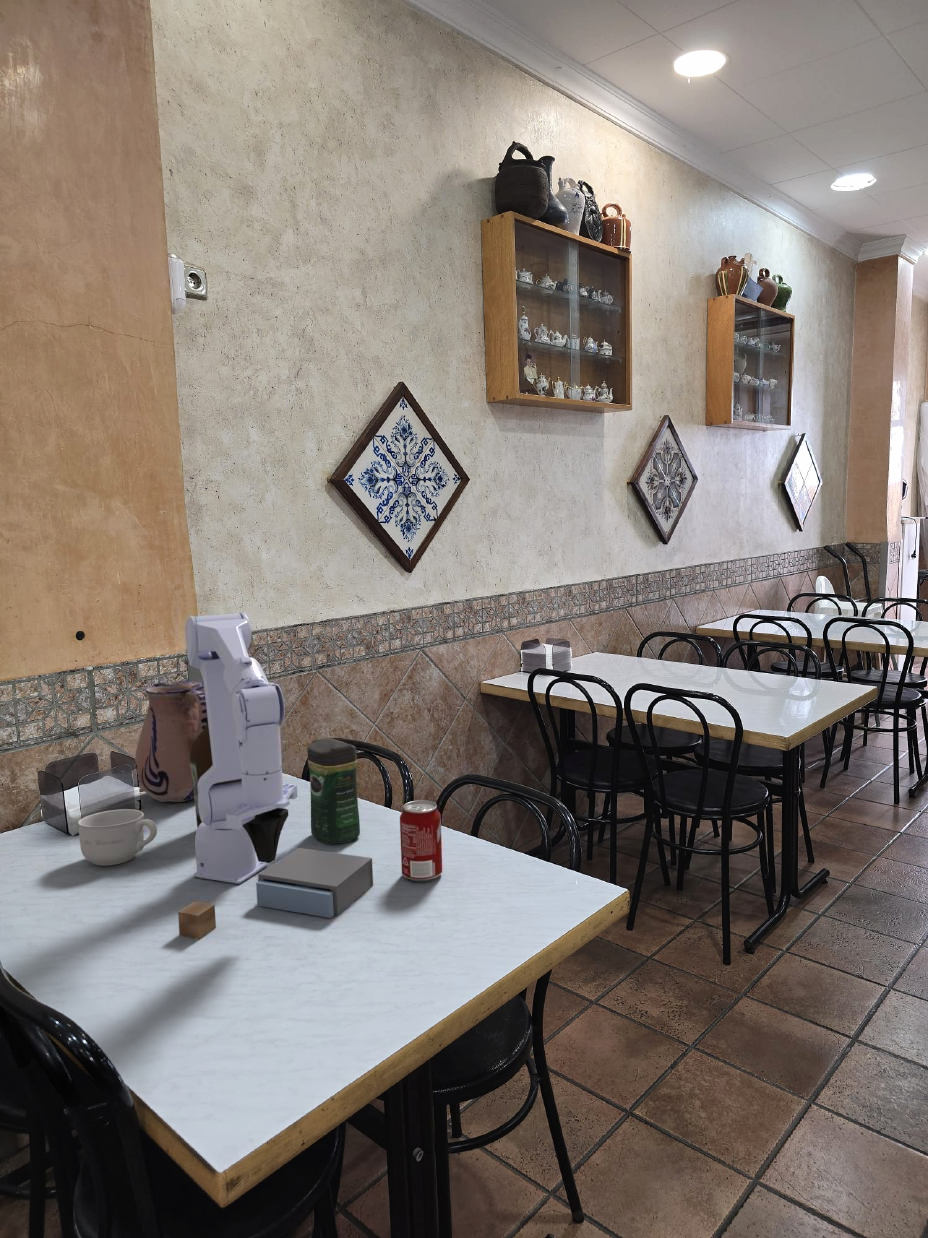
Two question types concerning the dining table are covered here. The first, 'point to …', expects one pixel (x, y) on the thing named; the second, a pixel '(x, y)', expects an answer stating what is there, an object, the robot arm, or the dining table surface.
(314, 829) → the coffee jar
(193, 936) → the brown cube block
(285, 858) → the box
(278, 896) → the tray
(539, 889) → the dining table surface
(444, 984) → the dining table surface
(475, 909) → the dining table surface
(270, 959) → the dining table surface
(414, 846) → the soda can
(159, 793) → the ceramic pitcher
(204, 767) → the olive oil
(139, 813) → the teacup
